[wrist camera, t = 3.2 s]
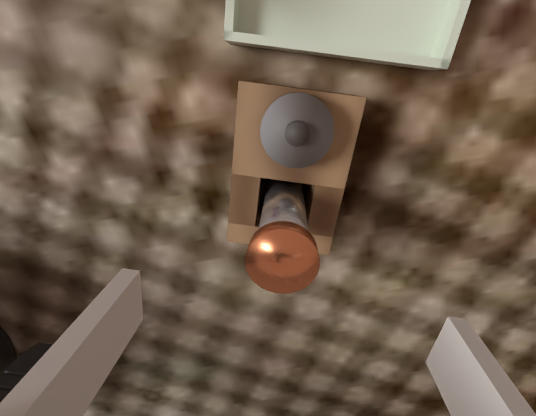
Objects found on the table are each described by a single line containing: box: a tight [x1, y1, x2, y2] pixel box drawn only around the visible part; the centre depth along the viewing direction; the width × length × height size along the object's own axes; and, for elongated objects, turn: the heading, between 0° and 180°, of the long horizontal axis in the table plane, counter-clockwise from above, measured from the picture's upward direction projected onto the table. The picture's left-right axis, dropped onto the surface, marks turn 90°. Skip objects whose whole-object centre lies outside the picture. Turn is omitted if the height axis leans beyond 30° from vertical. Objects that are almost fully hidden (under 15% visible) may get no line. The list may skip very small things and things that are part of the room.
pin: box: [245, 179, 320, 293], centre depth 22 cm, size 4×4×12 cm
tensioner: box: [227, 81, 366, 255], centre depth 24 cm, size 9×13×7 cm
